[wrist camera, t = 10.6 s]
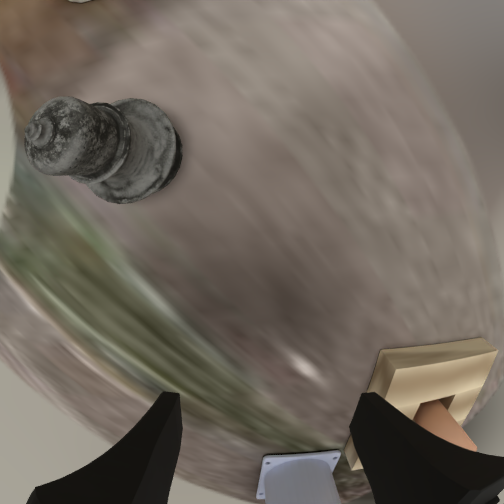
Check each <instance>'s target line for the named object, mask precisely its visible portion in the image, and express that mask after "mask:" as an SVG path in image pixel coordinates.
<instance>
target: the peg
mask: <svg viewBox="0 0 504 504" xmlns="http://www.w3.org/2000/svg"><path fill="white" fill-rule="evenodd" d="M413 419H414V420H415V422H416V423H417V424H418V425H420V426H421V427H423V428H425V429H426V430H428V431H429V432H431V433H433V434H434V435H436V436H438V437H440V438H442V439H444V440H446V441H448V442H450V443H453V444H455V445H458V446H460V447H463V448H466V449H469V450H472V451H475V452H476V451H477V447H476V446H475V444H474V443H473V442H472V440H471V439H470V438H469V437H468V435H467V434H466V433H465V431H464V430H463V429H462V428H461V427H460V425H459V424H458V423H457V422H456V420H455V419H454V418H453V417H452V415H451V414H450V413H449V412H448V411H447V409H446V408H445V407H444V406H443V405H442V403H441V402H440V401H439V400H438V399H436V400H432V401H428V402H423V403H420V406H419V408H418V410H417V412H416V414H415V416H414V418H413Z"/></svg>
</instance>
